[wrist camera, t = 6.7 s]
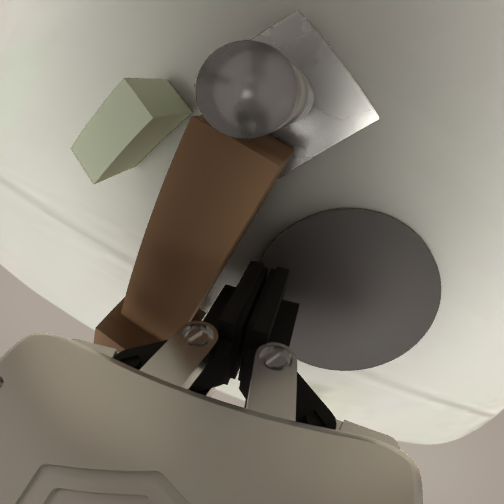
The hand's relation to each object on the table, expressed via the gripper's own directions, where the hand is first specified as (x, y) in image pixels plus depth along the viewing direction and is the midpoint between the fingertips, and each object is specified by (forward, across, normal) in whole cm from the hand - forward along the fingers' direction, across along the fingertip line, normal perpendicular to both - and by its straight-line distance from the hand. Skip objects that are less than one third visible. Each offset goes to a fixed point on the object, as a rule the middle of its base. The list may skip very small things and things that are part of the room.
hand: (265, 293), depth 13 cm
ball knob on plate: (+1, +1, -8) cm, 8 cm away
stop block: (+1, +7, -6) cm, 9 cm away
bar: (0, +3, -1) cm, 4 cm away
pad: (+1, -4, 0) cm, 4 cm away
